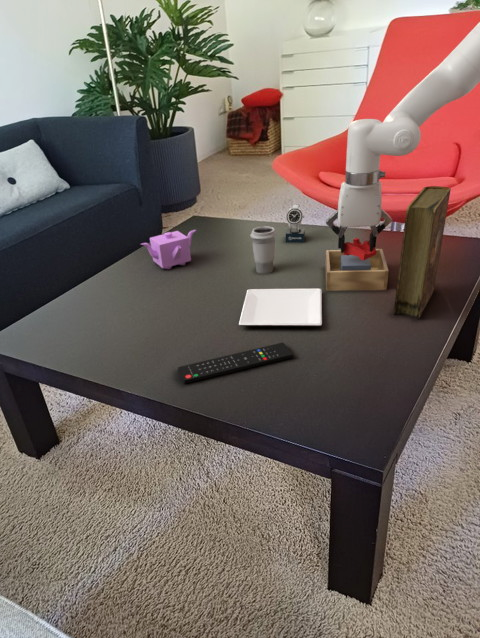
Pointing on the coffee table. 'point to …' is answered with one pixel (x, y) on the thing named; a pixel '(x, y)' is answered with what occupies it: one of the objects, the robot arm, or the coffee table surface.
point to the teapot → (170, 249)
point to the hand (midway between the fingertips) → (356, 249)
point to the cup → (263, 248)
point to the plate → (282, 307)
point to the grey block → (354, 263)
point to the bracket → (359, 249)
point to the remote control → (233, 362)
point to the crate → (355, 273)
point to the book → (421, 250)
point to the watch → (295, 225)
